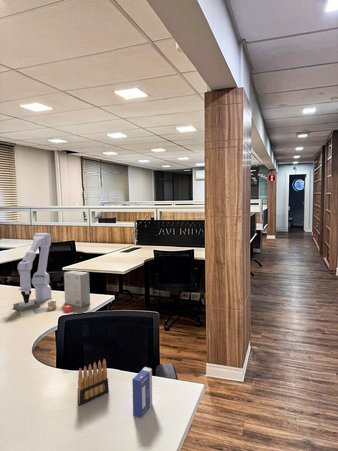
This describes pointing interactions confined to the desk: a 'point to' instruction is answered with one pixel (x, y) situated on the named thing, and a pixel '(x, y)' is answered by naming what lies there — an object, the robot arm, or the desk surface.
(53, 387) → the desk surface
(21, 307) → the button housing
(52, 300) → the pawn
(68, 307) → the red die
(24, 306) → the dome button
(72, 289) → the hard drive box
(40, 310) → the game mat
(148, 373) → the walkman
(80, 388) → the ammunition clip
